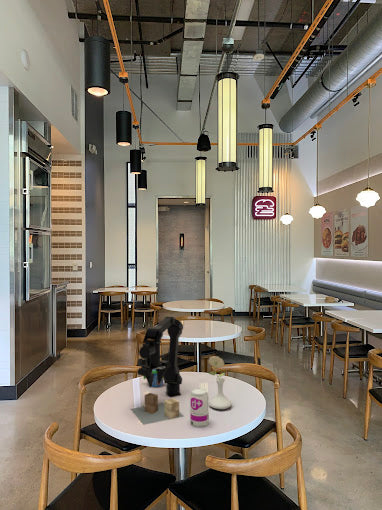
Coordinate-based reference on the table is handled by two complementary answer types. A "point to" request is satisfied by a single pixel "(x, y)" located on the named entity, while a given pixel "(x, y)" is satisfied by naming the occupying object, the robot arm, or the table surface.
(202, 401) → the supplement can
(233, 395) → the table surface
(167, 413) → the oak block
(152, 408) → the walnut block
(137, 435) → the table surface
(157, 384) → the snack cup
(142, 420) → the slate mat
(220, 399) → the flower in vase
